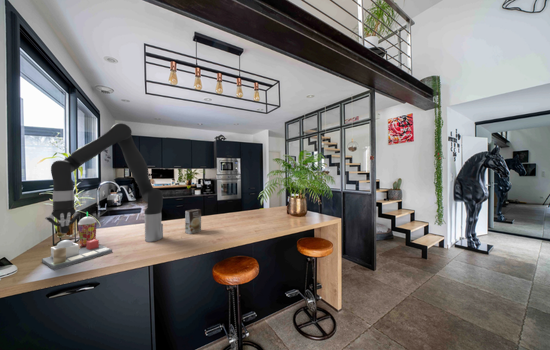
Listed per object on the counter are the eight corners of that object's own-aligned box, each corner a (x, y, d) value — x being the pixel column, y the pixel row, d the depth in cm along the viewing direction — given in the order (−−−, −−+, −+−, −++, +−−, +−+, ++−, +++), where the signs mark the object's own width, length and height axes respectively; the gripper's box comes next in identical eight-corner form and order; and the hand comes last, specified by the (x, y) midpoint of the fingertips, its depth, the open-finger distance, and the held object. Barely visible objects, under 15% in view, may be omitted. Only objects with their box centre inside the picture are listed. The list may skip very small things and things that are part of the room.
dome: (70, 248, 105) (70, 237, 105) (75, 250, 103) (75, 239, 102) (54, 252, 100) (54, 241, 100) (58, 255, 97) (58, 243, 97)
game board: (98, 246, 117) (97, 236, 117) (112, 252, 109) (112, 240, 109) (41, 261, 97) (41, 249, 97) (54, 269, 89) (53, 256, 89)
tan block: (64, 259, 96) (65, 247, 96) (66, 261, 94) (67, 249, 94) (52, 262, 93) (52, 249, 93) (54, 264, 91) (54, 251, 90)
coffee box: (189, 234, 139) (189, 211, 138) (185, 232, 142) (184, 210, 142) (201, 231, 146) (201, 209, 146) (196, 229, 150) (196, 208, 150)
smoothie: (75, 246, 117) (74, 212, 117) (92, 241, 125) (91, 210, 125) (83, 248, 114) (82, 213, 114) (100, 243, 122) (99, 211, 122)
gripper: (78, 197, 108) (78, 229, 108) (41, 200, 96) (42, 235, 97) (84, 198, 105) (84, 230, 105) (47, 201, 93) (47, 238, 93)
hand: (64, 233), depth 101 cm, fingers closed
